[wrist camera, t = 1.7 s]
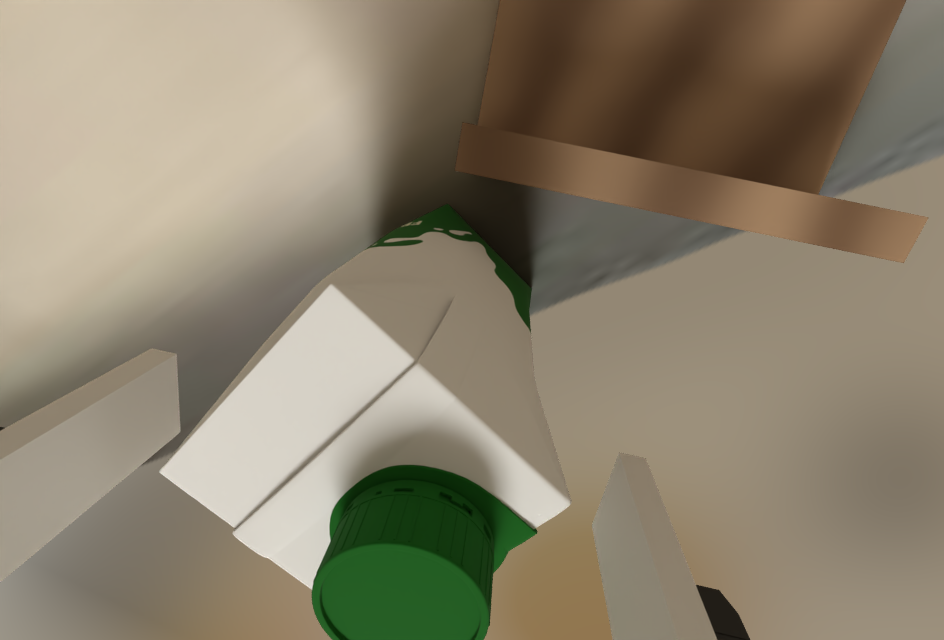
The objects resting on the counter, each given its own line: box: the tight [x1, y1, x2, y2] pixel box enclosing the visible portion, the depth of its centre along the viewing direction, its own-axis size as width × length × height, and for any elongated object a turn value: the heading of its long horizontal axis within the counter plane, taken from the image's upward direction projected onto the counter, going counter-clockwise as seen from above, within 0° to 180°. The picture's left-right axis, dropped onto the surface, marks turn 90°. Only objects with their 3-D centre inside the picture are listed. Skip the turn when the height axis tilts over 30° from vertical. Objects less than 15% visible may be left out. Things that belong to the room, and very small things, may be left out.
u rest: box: [455, 0, 928, 263], centre depth 19 cm, size 18×16×8 cm
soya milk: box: [159, 204, 571, 640], centre depth 19 cm, size 9×9×20 cm
